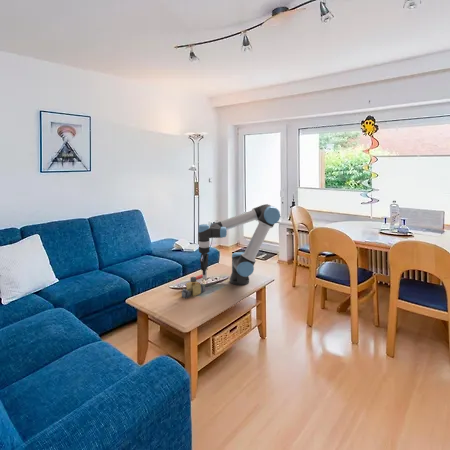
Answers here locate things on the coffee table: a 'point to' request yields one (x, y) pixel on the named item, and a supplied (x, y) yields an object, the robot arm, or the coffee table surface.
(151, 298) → the coffee table surface
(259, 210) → the robot arm
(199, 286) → the valve
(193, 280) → the lever
